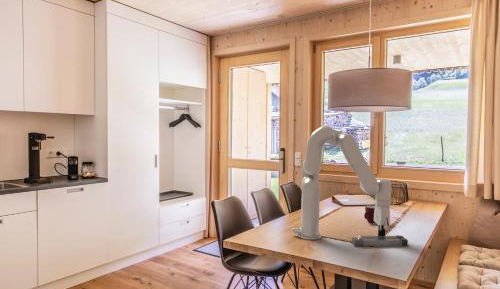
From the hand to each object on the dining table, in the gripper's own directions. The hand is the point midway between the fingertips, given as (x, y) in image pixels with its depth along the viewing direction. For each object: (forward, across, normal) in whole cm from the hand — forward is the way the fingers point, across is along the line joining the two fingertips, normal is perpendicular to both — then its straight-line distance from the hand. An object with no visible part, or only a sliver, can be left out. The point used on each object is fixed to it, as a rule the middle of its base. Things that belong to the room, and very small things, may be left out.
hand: (381, 237), depth 182 cm
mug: (+2, -32, +6) cm, 32 cm away
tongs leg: (+1, +5, -2) cm, 5 cm away
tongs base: (+1, +8, -4) cm, 9 cm away
